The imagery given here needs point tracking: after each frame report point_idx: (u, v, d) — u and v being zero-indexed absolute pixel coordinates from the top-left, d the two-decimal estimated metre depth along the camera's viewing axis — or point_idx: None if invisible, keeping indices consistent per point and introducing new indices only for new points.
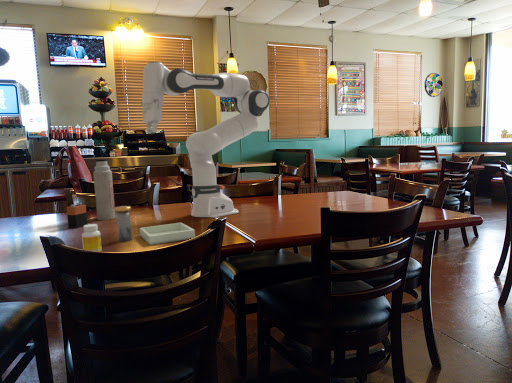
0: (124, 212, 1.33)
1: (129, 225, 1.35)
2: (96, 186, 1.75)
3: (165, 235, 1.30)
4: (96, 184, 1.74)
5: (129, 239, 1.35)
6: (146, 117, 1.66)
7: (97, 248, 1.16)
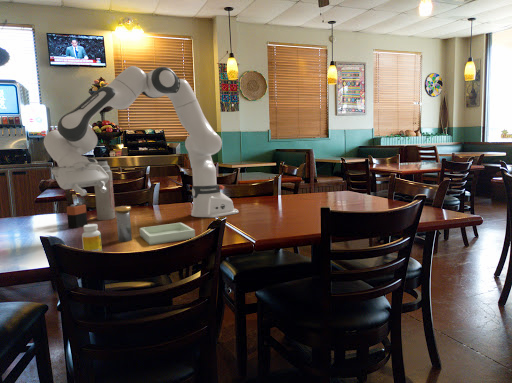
0: (124, 212, 1.33)
1: (129, 225, 1.35)
2: (96, 186, 1.75)
3: (165, 235, 1.30)
4: None
5: (129, 239, 1.35)
6: None
7: (97, 248, 1.16)
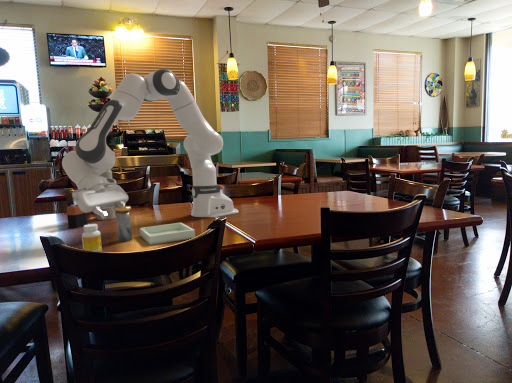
0: (124, 212, 1.33)
1: (129, 225, 1.35)
2: None
3: (165, 235, 1.30)
4: None
5: (129, 239, 1.35)
6: None
7: (97, 248, 1.16)
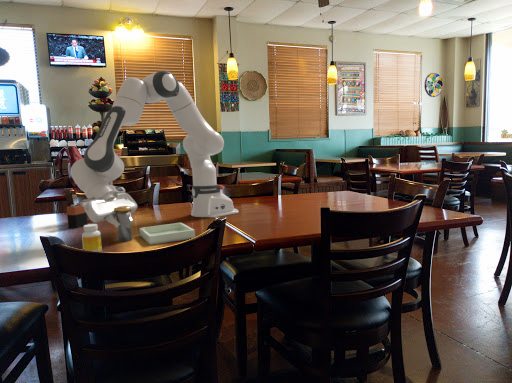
0: (124, 212, 1.33)
1: (129, 225, 1.35)
2: None
3: (165, 235, 1.30)
4: None
5: (129, 239, 1.35)
6: None
7: (97, 248, 1.16)
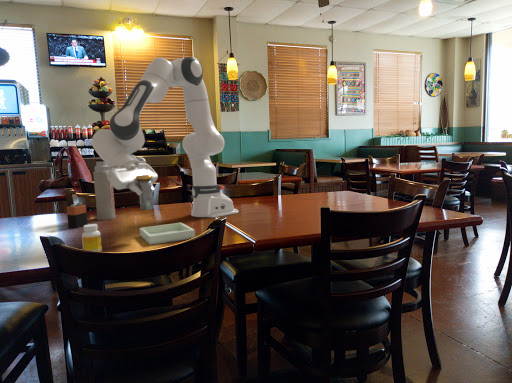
0: (146, 180, 1.33)
1: (151, 193, 1.35)
2: (96, 186, 1.75)
3: (165, 235, 1.30)
4: (96, 184, 1.74)
5: (151, 207, 1.36)
6: None
7: (97, 248, 1.16)
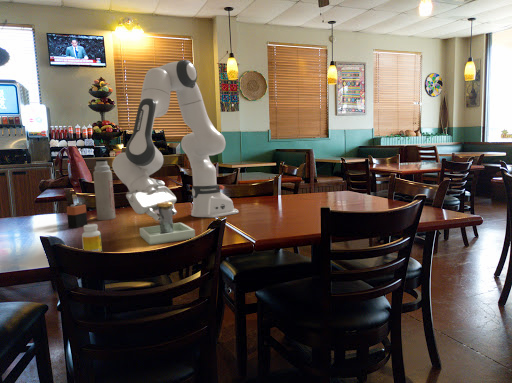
0: (167, 208, 1.36)
1: (171, 220, 1.38)
2: (96, 186, 1.75)
3: (165, 235, 1.30)
4: (96, 184, 1.74)
5: None
6: None
7: (97, 248, 1.16)
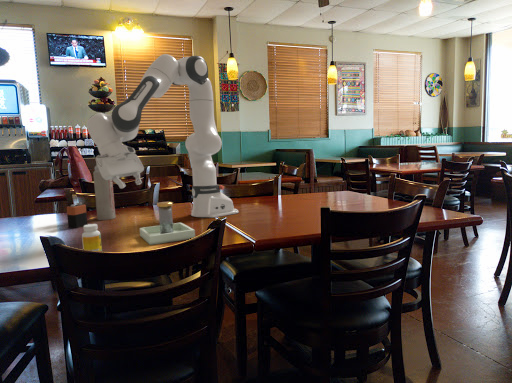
0: (167, 207, 1.36)
1: (171, 220, 1.38)
2: (96, 186, 1.75)
3: (165, 235, 1.30)
4: (96, 184, 1.74)
5: None
6: None
7: (97, 248, 1.16)
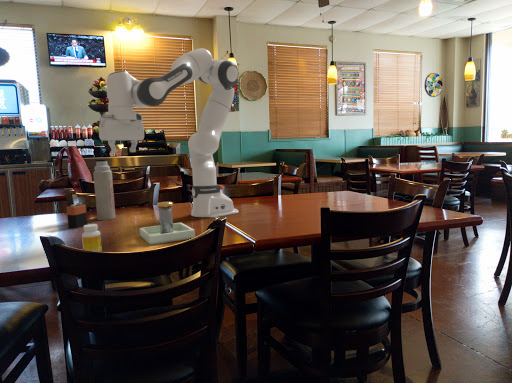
0: (167, 207, 1.36)
1: (171, 220, 1.38)
2: (96, 186, 1.75)
3: (165, 235, 1.30)
4: (96, 184, 1.74)
5: None
6: None
7: (97, 248, 1.16)
